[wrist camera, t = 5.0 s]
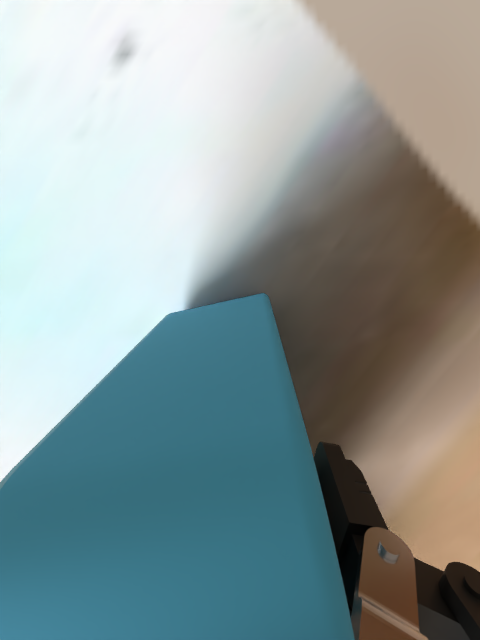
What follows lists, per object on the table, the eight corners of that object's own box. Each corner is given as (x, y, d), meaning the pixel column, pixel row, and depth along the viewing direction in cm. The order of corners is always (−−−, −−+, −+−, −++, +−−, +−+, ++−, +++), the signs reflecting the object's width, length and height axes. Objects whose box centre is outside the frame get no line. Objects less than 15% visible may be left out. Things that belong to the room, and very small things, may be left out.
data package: (309, 491, 17) (429, 1021, 6) (231, 503, 18) (194, 1019, 6) (266, 285, 14) (338, 535, 2) (172, 306, 14) (-138, 602, 3)
